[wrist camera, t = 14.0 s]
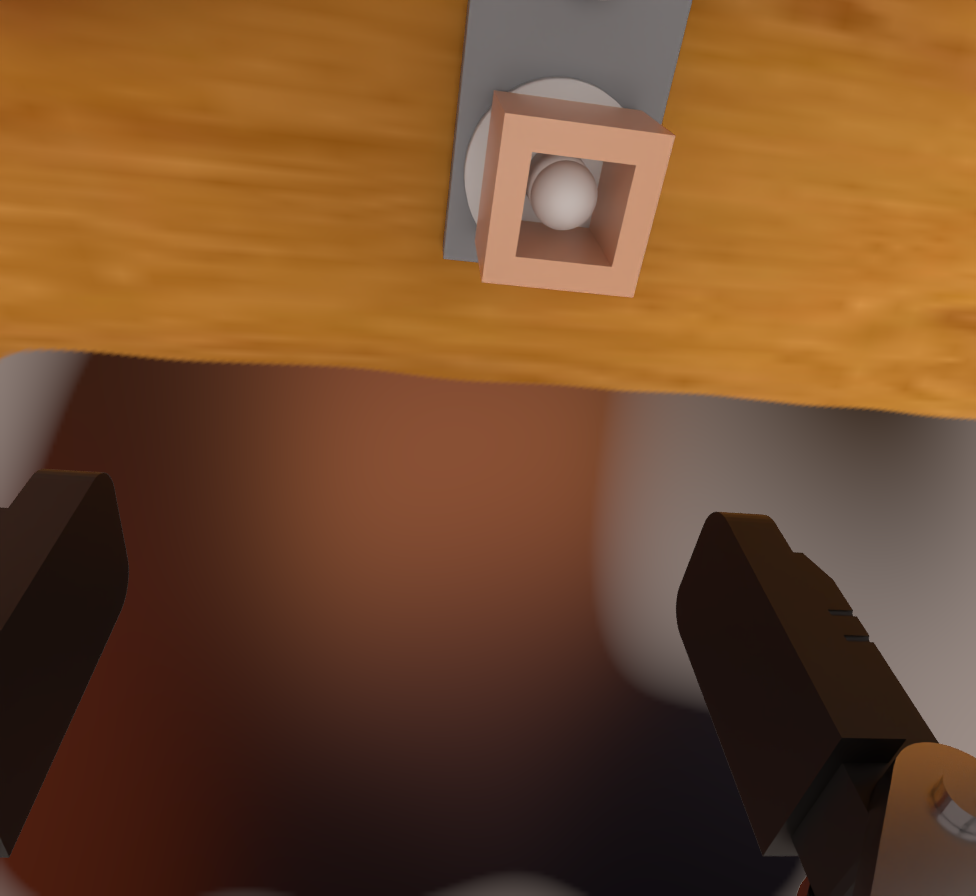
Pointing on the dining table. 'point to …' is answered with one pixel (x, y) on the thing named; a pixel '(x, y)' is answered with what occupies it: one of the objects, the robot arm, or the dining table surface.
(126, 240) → the dining table surface
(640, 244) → the collar
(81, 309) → the dining table surface
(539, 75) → the hub base
